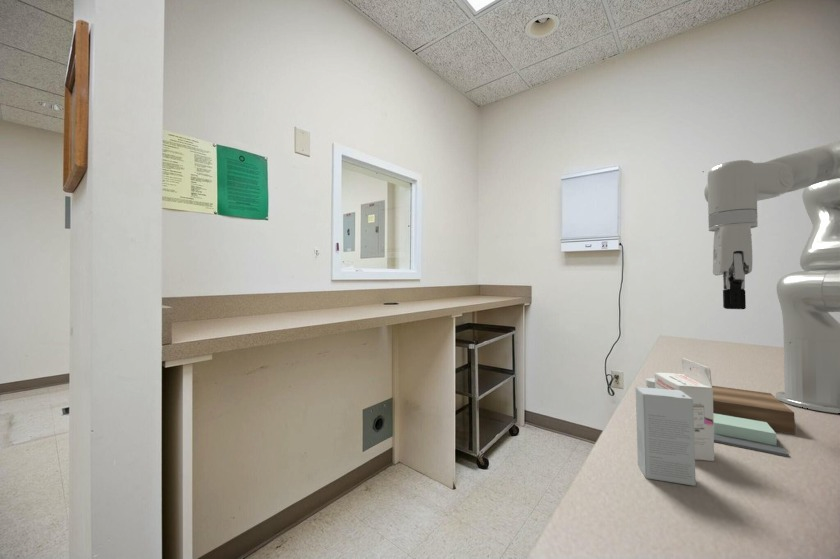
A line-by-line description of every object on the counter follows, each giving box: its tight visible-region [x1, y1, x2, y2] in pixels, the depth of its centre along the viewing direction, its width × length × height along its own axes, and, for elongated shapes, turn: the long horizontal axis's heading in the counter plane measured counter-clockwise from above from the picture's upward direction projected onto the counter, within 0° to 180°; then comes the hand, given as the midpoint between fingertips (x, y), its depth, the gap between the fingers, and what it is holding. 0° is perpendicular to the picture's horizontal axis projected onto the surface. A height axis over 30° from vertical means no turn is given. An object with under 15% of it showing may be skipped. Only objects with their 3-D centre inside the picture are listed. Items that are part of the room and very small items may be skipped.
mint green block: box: [713, 413, 777, 446], centre depth 61 cm, size 6×8×2 cm
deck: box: [712, 385, 796, 435], centre depth 72 cm, size 14×16×4 cm
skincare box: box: [635, 386, 697, 487], centre depth 48 cm, size 6×4×12 cm
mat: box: [714, 433, 790, 458], centre depth 62 cm, size 12×13×1 cm
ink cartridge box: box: [654, 357, 715, 462], centre depth 56 cm, size 9×5×15 cm, turn 168°
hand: (734, 308), depth 69 cm, fingers closed
